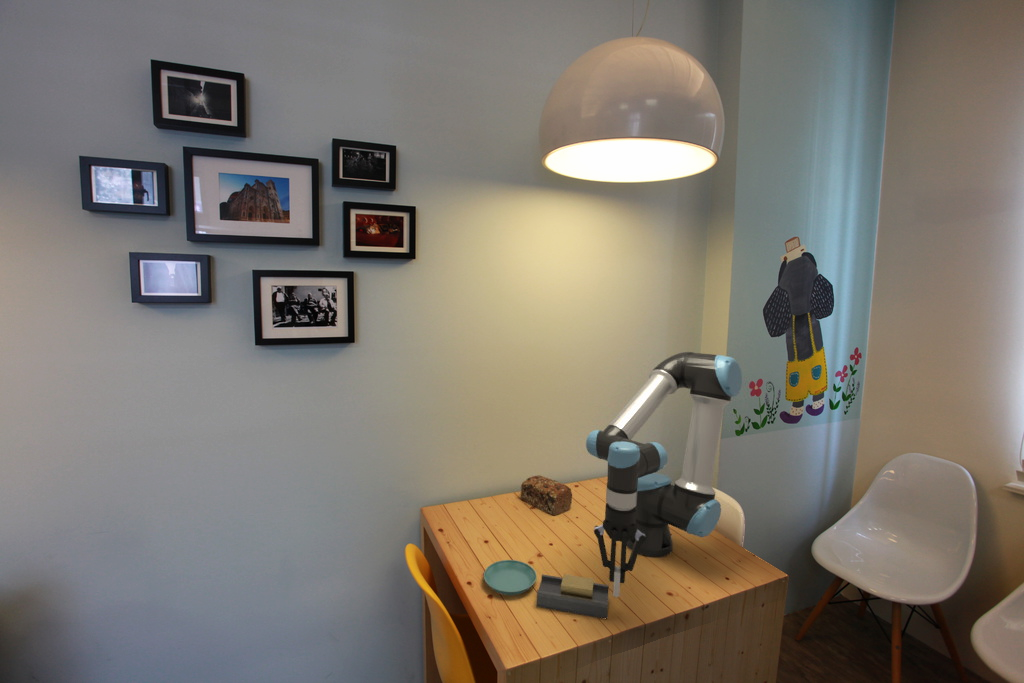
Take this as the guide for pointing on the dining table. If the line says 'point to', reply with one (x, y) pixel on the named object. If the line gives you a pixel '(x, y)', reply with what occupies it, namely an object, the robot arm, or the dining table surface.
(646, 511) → the robot arm
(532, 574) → the saucer
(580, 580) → the tan rectangular block
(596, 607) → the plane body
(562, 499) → the bread
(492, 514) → the dining table surface
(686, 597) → the dining table surface
